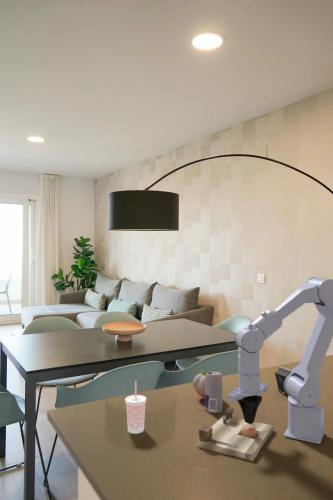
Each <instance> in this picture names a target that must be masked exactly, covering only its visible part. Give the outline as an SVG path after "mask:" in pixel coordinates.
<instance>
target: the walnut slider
mask: <svg viewBox="0 0 333 500" xmlns="http://www.w3.org/2000/svg"><path fill="white" fill-rule="evenodd" d="M211 438H212V426H208V425H202V426H201V427H200V429H198V439H200V440H204V441H209V440H210V439H211Z"/></svg>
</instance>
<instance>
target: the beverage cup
mask: <svg viewBox="0 0 333 500" xmlns="http://www.w3.org/2000/svg"><path fill="white" fill-rule="evenodd" d="M137 390H138V389H137V380H135V381H134V394H131V395H128V396H126V397H125V398H124V402H125V406H126V407H125V408H126V422H127V432H128V433H129V434H140V433H143V432H144V431H145V420H146V419H145V417H146V403H147V397H146V396H145V395H141V394H137Z"/></svg>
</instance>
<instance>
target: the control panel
mask: <svg viewBox="0 0 333 500" xmlns="http://www.w3.org/2000/svg"><path fill="white" fill-rule="evenodd" d="M226 416H227V415H226V414H225V415H224V414H223V415H222V416H221V417H220V418H219V419H218V420H217V421H216V422H215V423H214V424H213V425H212V426H211V427H212V438H211V439H210V440H209V441H204V440H200V439H199V438H198V439H197V440H196V447H197V448H201V449H205V450H209V451H213V452H217V453H220V454H224V455H227V456H232V457H236V458H240V459H243V460H247V461H251V462H253V461H254V460H255V458H257V456H258V454H259V453H260V451H261V450H262V448H263V446H264V445H265V443H266V442H267V441H268V440H269V438H270V436H271V435H272V433H273V432H274V425H272V424H267V423H262V422H259V421H254V423H253V424H248V423H246V422H245V420H244V418H239V417H234V416H233V415H232V416H231V417H230V418H229V419H228V420H227V419H226ZM244 425H252V426H255V427H256V439H253V438H249V437H245V436H242V426H244Z"/></svg>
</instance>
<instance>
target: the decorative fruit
mask: <svg viewBox="0 0 333 500" xmlns="http://www.w3.org/2000/svg"><path fill="white" fill-rule="evenodd" d="M206 372H207V371H199V372H198V374H196V375H195V377H193V380H192V386H193V389H194V390H195V392H196V393H197V395H198V396H199V397H201V398H202V399H204V400H205V375H206Z"/></svg>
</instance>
